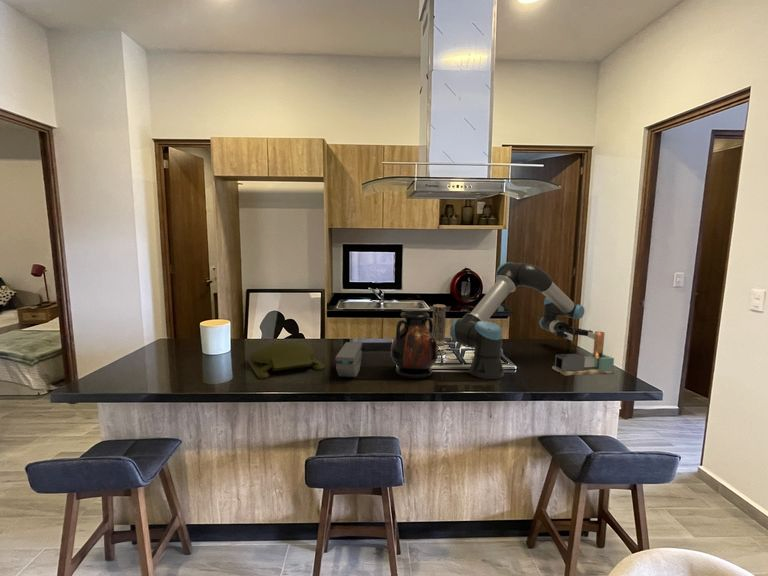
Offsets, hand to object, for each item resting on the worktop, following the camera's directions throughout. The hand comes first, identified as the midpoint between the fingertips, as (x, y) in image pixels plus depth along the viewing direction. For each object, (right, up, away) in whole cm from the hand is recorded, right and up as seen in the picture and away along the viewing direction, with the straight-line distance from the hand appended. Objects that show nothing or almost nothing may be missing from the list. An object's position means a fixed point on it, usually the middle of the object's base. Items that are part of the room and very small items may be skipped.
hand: (584, 337), depth 204 cm
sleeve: (-13, -14, -11) cm, 21 cm away
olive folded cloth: (-148, -13, -5) cm, 149 cm away
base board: (-6, -15, -9) cm, 18 cm away
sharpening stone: (-116, -14, -16) cm, 118 cm away
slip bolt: (-3, -12, -9) cm, 16 cm away
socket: (+4, -13, -8) cm, 16 cm away
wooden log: (-70, -10, +24) cm, 74 cm away
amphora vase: (-86, -15, -16) cm, 89 cm away
